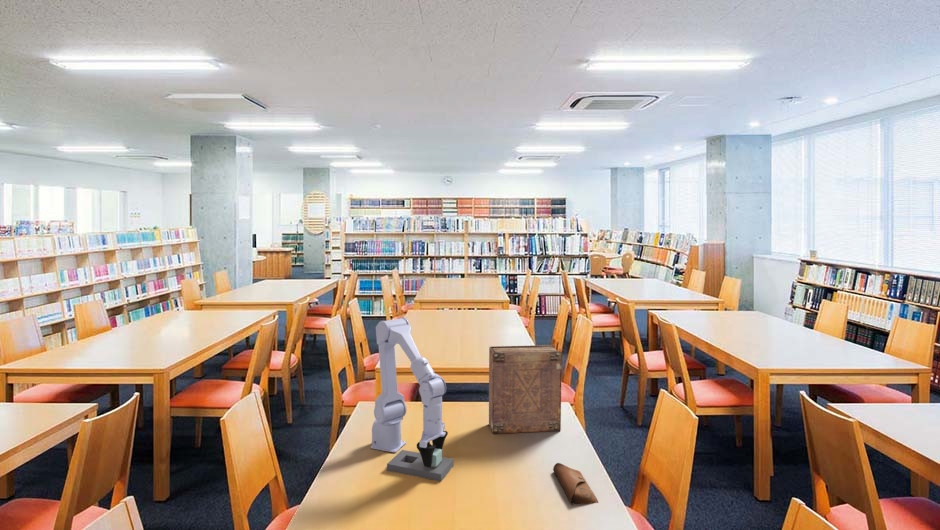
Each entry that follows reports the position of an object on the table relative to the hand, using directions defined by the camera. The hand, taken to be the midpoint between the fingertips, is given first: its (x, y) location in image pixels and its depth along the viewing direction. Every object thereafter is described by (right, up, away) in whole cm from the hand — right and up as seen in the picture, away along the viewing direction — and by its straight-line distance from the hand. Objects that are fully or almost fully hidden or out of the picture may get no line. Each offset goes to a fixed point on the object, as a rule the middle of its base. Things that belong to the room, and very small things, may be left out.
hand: (432, 460), depth 150 cm
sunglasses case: (+42, -5, -8) cm, 43 cm away
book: (+32, -1, +32) cm, 45 cm away
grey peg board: (-4, -3, +2) cm, 5 cm away
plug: (0, -3, 0) cm, 3 cm away
